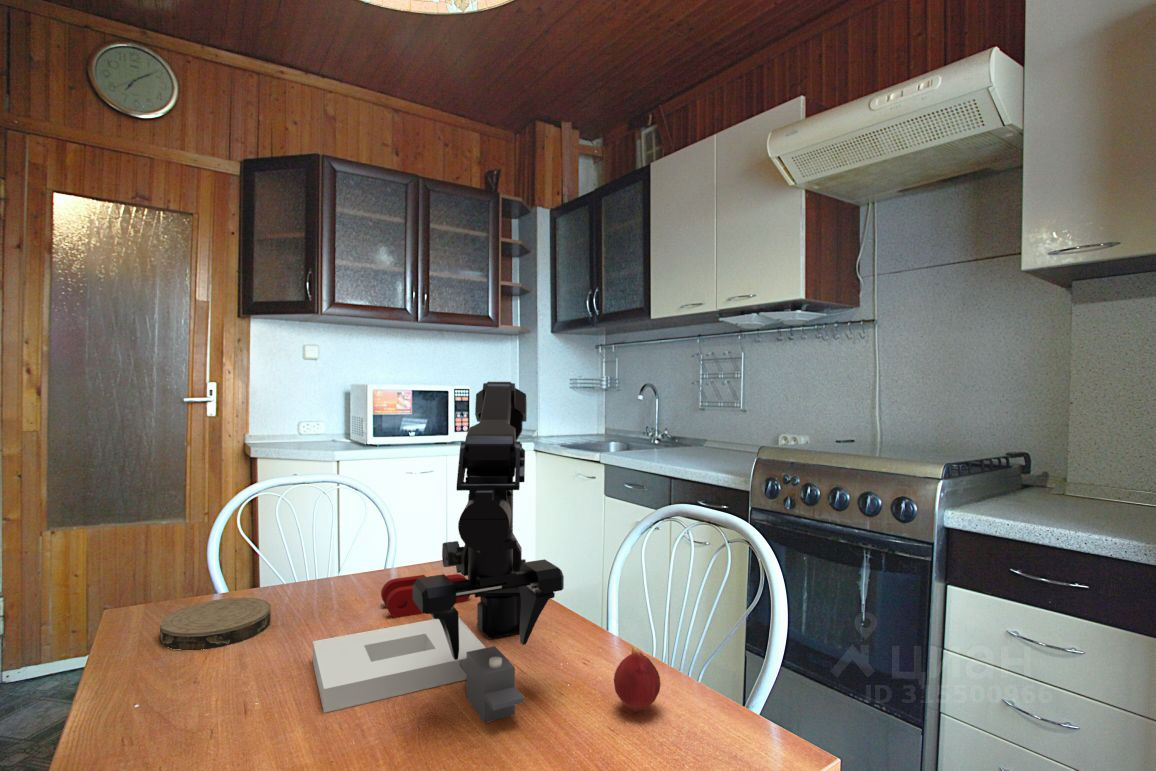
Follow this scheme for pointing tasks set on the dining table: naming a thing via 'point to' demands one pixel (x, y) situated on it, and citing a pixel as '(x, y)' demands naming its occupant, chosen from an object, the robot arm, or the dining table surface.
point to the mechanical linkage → (408, 595)
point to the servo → (490, 684)
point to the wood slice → (215, 623)
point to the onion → (637, 681)
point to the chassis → (387, 663)
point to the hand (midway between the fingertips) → (490, 650)
